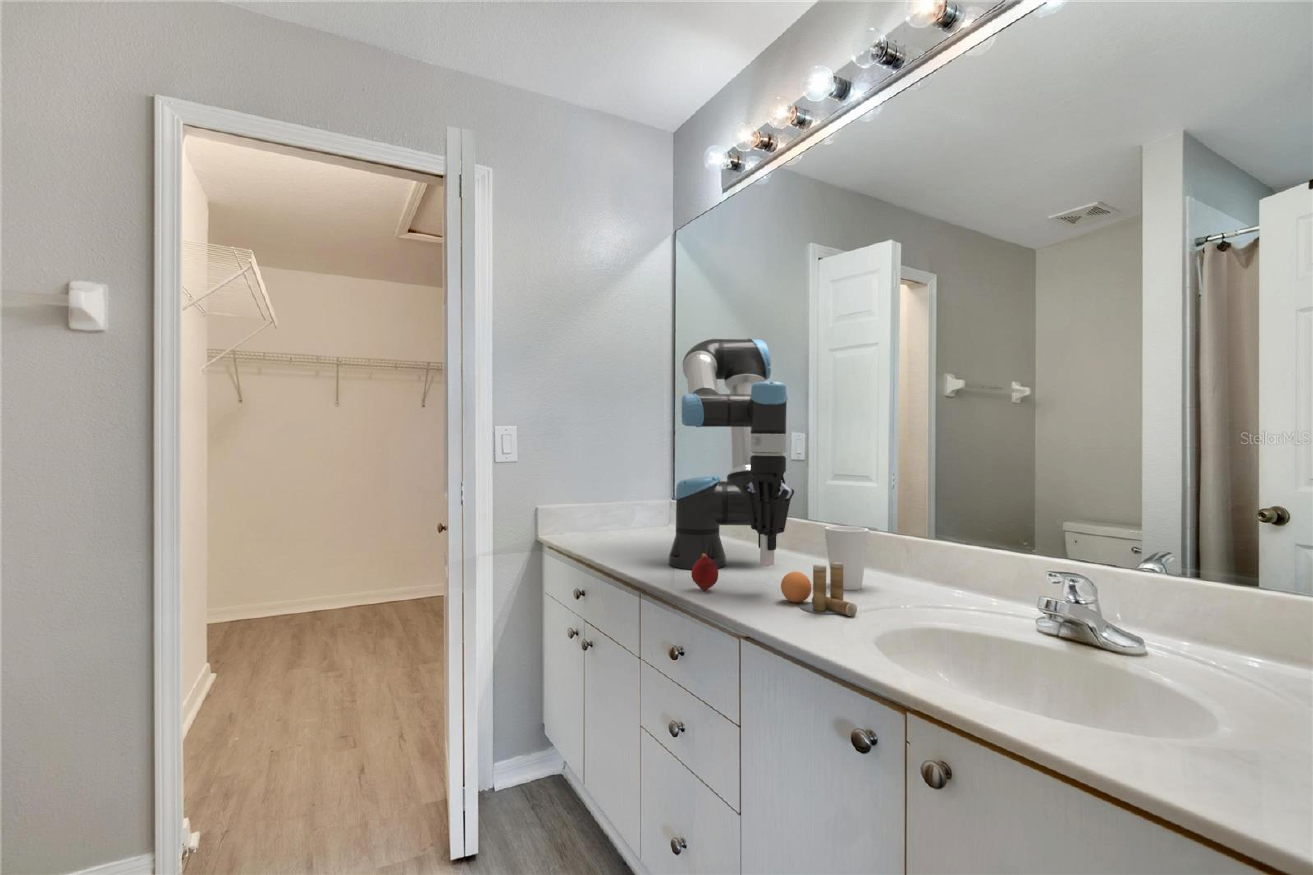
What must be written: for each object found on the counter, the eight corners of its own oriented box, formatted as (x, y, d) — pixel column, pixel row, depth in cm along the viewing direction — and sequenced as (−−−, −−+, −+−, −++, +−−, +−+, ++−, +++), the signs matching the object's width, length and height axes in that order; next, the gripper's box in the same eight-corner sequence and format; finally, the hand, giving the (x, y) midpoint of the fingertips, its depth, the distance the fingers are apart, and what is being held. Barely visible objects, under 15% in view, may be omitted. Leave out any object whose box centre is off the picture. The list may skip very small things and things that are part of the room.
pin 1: (813, 609, 114) (813, 564, 114) (826, 610, 114) (826, 565, 114) (813, 613, 112) (813, 566, 112) (826, 614, 111) (826, 567, 112)
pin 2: (830, 606, 117) (830, 561, 117) (842, 606, 117) (843, 562, 117) (830, 609, 115) (830, 564, 115) (843, 610, 114) (843, 564, 114)
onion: (718, 588, 132) (718, 551, 132) (718, 594, 126) (718, 556, 126) (691, 587, 132) (692, 551, 133) (690, 593, 127) (691, 555, 127)
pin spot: (800, 601, 120) (800, 600, 120) (843, 604, 118) (843, 603, 118) (799, 612, 112) (799, 611, 112) (846, 615, 110) (846, 614, 110)
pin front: (816, 591, 117) (853, 600, 110) (821, 600, 118) (858, 610, 111) (810, 600, 116) (846, 610, 109) (815, 609, 117) (851, 619, 109)
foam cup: (816, 585, 135) (816, 528, 135) (839, 580, 141) (839, 525, 141) (855, 593, 128) (855, 532, 128) (876, 587, 134) (876, 529, 134)
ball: (816, 585, 116) (808, 611, 118) (813, 569, 122) (805, 594, 124) (785, 579, 117) (778, 605, 119) (783, 563, 122) (777, 588, 124)
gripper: (734, 453, 131) (733, 561, 131) (778, 455, 120) (777, 573, 121) (758, 453, 135) (757, 557, 136) (803, 455, 125) (802, 568, 125)
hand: (767, 564), depth 128 cm, fingers closed
